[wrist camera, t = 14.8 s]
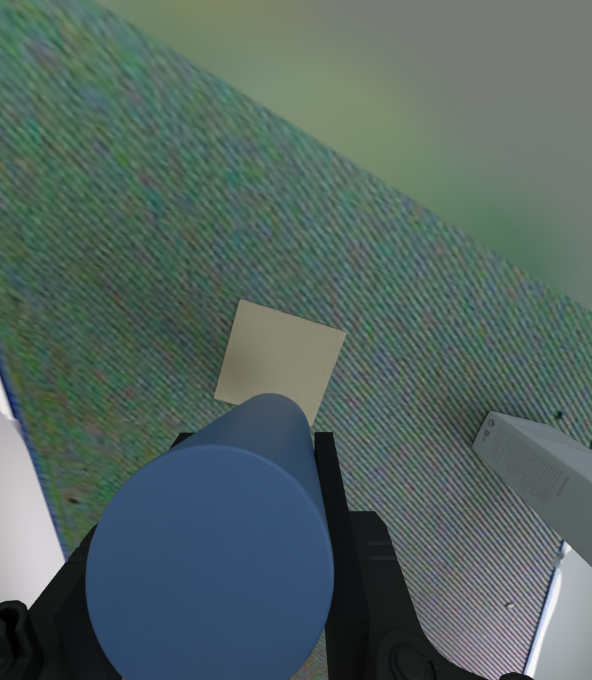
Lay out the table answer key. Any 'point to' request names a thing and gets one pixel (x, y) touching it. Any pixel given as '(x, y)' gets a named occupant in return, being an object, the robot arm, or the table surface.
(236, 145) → the table surface
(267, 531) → the tube
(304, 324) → the mat
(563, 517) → the cosmetic box
